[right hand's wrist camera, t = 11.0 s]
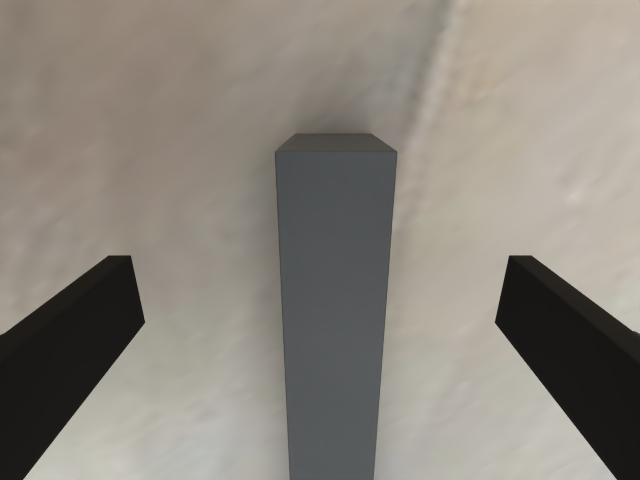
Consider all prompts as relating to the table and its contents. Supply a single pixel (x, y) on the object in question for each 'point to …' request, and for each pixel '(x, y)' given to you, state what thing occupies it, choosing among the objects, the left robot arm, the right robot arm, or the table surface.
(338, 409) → the bar
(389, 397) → the table surface
